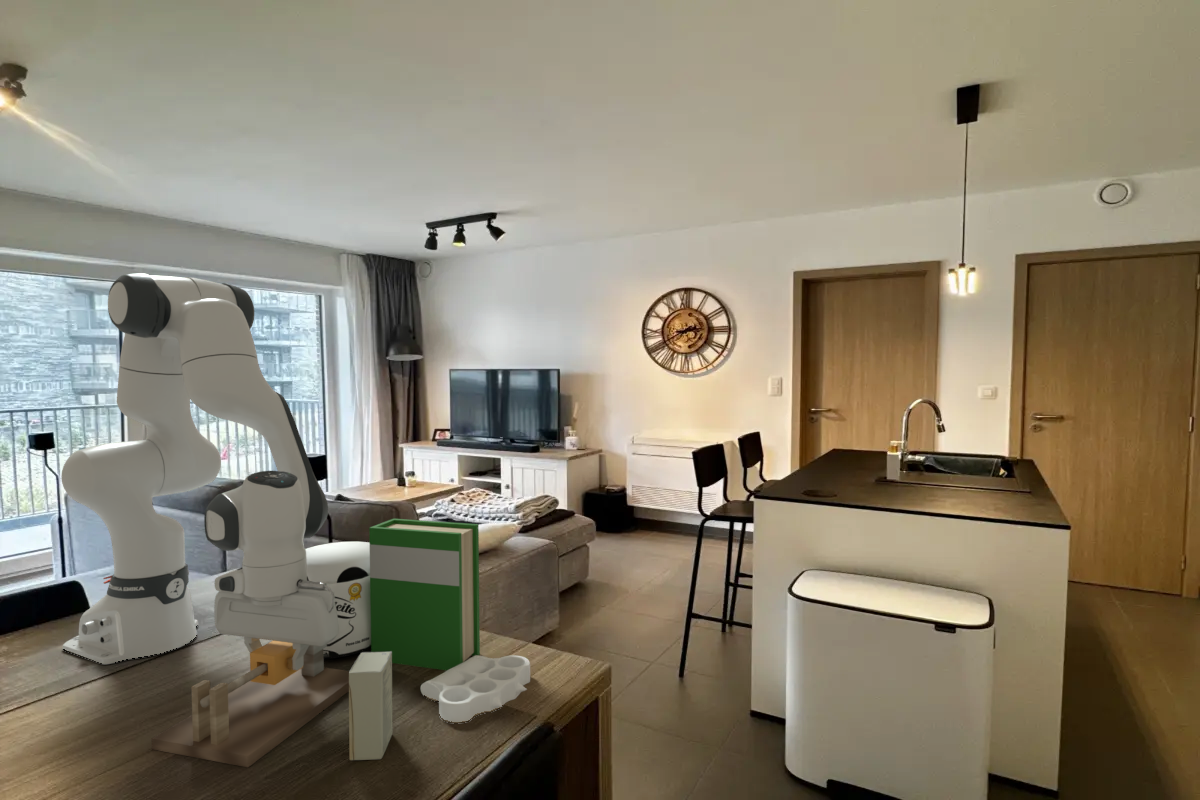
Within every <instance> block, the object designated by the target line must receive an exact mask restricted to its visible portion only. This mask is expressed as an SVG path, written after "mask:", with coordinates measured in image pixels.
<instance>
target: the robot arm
mask: <svg viewBox="0 0 1200 800" xmlns="http://www.w3.org/2000/svg"><path fill="white" fill-rule="evenodd" d="M253 302H254V301H253V300H252V298H251V296H250V295H249V293H248V292H247V291H246V290H245V289H244V288H241V287H239V286H236V285H233V284H230V283H227V282H226V283H225V282H222V283H219V282H215V281H211V280H206V279H203V278H202V279H201V278H198V277H197V278H196V277H192V276H191V277H190V276H185V277H180V276H171V275H169V276H168V275H149V274H148V273H128V274H123V275H121V276H119V277H118V278H117V279H116V280H115V281H114V282H113V283H112V284H111V286H110V289H109V291H108V296H107V312H108V316H109V318H110V321H111V323H112V324H113V325H114V326H115V327H116V328H117V329H118V331H120V332H121V333H124V337H123V341H122V345H121V352H120V358H119V366H118V367H119V368H118V378H117V380H118V381H117V393H116V405H117V407H118V409H119V411H120V412H121V413H122V414H123V415H124V416H126V418H128V419H130V420H133V421H135V422H137V423H138V424H142V425H145V426H144V427H145V429H146V437H145V439H142V440H141V439H140V440H127V441H119V442H106V443H101V444H97V445H93V446H89V447H86V448H82V449H79V450H75V451H74V452H73V453H71V454H70V455H69V456H68V458H67V459H66V460H65V462H64V464H63V466H62V471H61V484H62V487H63V489H64V491H65V493H67V495H68V496H69V497H70V498H71V499H72V500H74V501H75V502H76V503H79V504H81V505H82V506H84V507H87V508H88V509H90V510H92V512H94V513H95V514H96V515H98V517H99V518H100V519H101V520H102V521H103V523H104V524H105V526H106V528H107V530H108V533H109V537H110V540H111V547H112V548H111V549H112V554H113V556H112V557H113V559H112V560H113V570H114V571H113V572H114V573H113V574H111V575H107V576H106V577H103V580H105V581H104V582H103V583H102V584H108V586H107V590H106V594H105V595H104V596H103V597H102V598H101V599H100V600H98V601H97V602H95V604H93V605H92V606H91V607H90V608H89V609H87V610H85V612H83V614H82V615H81V617H80V619H79V623H78V624H79V625H78V635H76V636H74V637H72V638H71V639H69V640H67V641H65V642H64V643H63V644H62V649H65V650H67V651H71V652H74V653H76V654H79V655H81V656H84V657H87V658H89V659H92V660H94V661H96V662H95V663H97V662H99V663H98V664H100V663H102V664H101V665H110V664H115V662H116V663H119V662H118V661H120V662H122V660H124V661H127V660H126V659H128V660H133V659H132V658H135V659H139V658H138V657H142V658H145V657H144V656H148V657H151V656H150V655H153V656H155V655H154V654H157V655H160V653H161V654H164V652H165V653H167V652H166V651H168V652H171V651H174V650H177V649H179V648H182V647H184V646H185V644H186V645H187V644H190V643H191V642H192V641H193V639H194V638H195V637H196V638H197V636H198V631H197V628H196V626H197V625H198V626H199V620H198V619H196V618H195V614H194V608H193V601H192V595H191V594H192V593H191V589H190V588H189V587H188V584H189V581H190V580H189V579H190V578H189V575H190V571H189V567H188V564H187V563H186V549H185V548H186V547H185V545H186V544H185V543H186V542H185V541H186V540H185V539H186V538H185V530H184V527H183V526H182V524H181V523H180V522H179V521H178V520H177V519H176V518H173V517H170V516H167V515H164V514H161V513H157V511H156V510H155V508H154V505H153V498H155V497H162V496H167V495H174V494H175V495H176V494H180V493H186V492H190V491H193V490H197V489H199V488H202V487H204V486H207V485H209V484H212V483H213V482H214V481H215V479H216V478H217V477H218V475H219V473H220V470H221V467H222V466H221V465H222V460H221V459H222V458H221V454H220V452H219V449H218V448H217V447H216V445H215V444H214V443H213V442H211V440H209V439H207V438H206V437H205V436H203V435H202V433H201V432H200V431H199V430H198V428H197V427H196V425H195V422H194V420H193V417H192V412H191V402H192V403H193V404H194V405H195V406H196V407H197V408H199V409H200V410H202V411H203V412H205V413H207V414H209V415H210V416H211V415H212V416H213V417H216V418H218V419H222V420H226V421H229V422H233V423H237V424H240V425H243V426H245V427H248V428H251V429H252V430H254V431H256V432H257V433H258V434H260V435H261V436H262V437H263V438H264V440H265V441H266V442H267V444H268V447H269V450H270V453H271V455H272V459H273V461H274V464H275V467H276V470H262V471H257V472H253V473H251V474H249V475H248V476H246V477H245V479H244V480H243V483H242V484H241V485H240V486H238V487H236V488H233V489H231V490H228V491H225V492H222V493H219V494H216V496H214V497H213V498H212V499H211V501H210V502H209V504H208V505H207V507H206V508H205V511H204V520H203V523H204V533H205V537H206V540H207V541H208V542H210V543H211V544H212V545H213V546H215V547H216V548H218V549H219V550H221V551H226V552H227V551H228V552H229V551H230V552H231V551H234V552H235V551H242V552H243V558H242V562H241V565H242V566H241V567H239V568H237V569H234V570H232V571H228V572H226V573H223V574H222V575H220V576H217V577H216V578H214V589H215V591H217V593H216V595H215V597H214V604H213V605H214V607H213V610H214V611H213V612H214V613H213V617H214V619H213V620H214V626H215V629H216V630H217V632H218V633H219V634H220V635H227V636H234V637H235V636H236V637H243V638H244V639H243V640H244V641H243V642H244V645H245V646H246V648H247V650H248V652H249V654H250V653H251V652H253V651H255V650H256V649H258V648H260V647H262V646H263V645H262V642H261V640H265V641H281V642H289V643H293V649H296V651H295V653H294V655H293V656H292V657H290V658H288V659H287V663H288V669H291V670H299V669H300V668H302V667H303V665H304V657H303V655H304V654H305V653H306V651H307V649H308V647H309V645H312V646H323V645H325V644H327V643H329V642H330V641H332V640H333V639H334V638H335V637H336V636H337V634H338V632H339V625H338V616H337V610H336V604H335V596H334V591H333V590H332V589H331V588H330V587H329V586H327V585H326V583H324V582H313V581H307V557H306V550H305V549H306V547H305V544H304V540H305V539H310V538H313V537H314V536H315V535H316V534H317V533H318V532H319V531H320V529H321V528H322V526H323V525H324V523H325V522H326V520H327V518H328V514H329V505H328V499H327V497H326V495H325V493H324V490H323V489H322V487H321V485H320V483H319V481H318V480H317V478H316V476H315V473H314V471H313V468H312V465H311V463H310V460H309V457H308V454H307V452H306V449H305V446H304V443H303V440H302V436H301V434H300V432H299V429H298V426H297V424H296V421H295V419H294V418H295V417H294V415H293V414H292V411H291V409H290V407H289V404H288V402H287V400H286V399H285V397H284V396H283V395H282V394H281V393H279V392H277V391H275V390H274V389H273V388H272V387H271V385H270V384H269V383H268V381H267V380H266V378H265V377H264V375H263V373H262V371H261V368H260V365H259V364H260V363H259V360H258V353H257V350H256V345H255V342H254V341H255V340H254V338H253V335H252V332H251V331H252V330H251V328H252V327H253V324H254V320H255V305H254V303H253ZM107 579H108V580H107ZM325 588H326V589H325ZM198 626H197V627H198ZM196 635H197V636H196ZM196 638H195V639H196ZM195 639H194V640H195ZM191 640H192V641H191ZM190 641H191V642H190ZM176 648H177V649H176ZM173 649H174V650H173ZM170 650H171V651H170ZM89 659H88V660H89ZM92 660H91V661H92ZM94 661H93V662H94Z"/></svg>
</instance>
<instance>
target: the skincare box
mask: <svg viewBox="0 0 1200 800" xmlns="http://www.w3.org/2000/svg"><path fill="white" fill-rule="evenodd" d="M348 671H349V692H348V727H349V728H348V737H349V738H348V739H349V741H348V743H349V745H348V749H349V753H348V754H349V761H367V760H369V761H370V760H381V759H382V758H383V757H384V754H385V752H386V750H387V748H388V746H389V743H390V740H391V739H392V735H393V663H392V652H391V651H390V652H371V651H362V652H360V654H359V655H358V656H357V658H356V660H355V661H354V663H353V665H352V666H351V668H350V670H348Z"/></svg>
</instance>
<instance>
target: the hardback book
mask: <svg viewBox="0 0 1200 800" xmlns="http://www.w3.org/2000/svg"><path fill="white" fill-rule="evenodd" d="M368 530H369V531H368V533H369V536H368V537H369V543H370V600H371V651H370V652H390V651H391V652H392V664H397V665H405V666H411V667H419V668H426V669H433V670H439V671H440V670H442V671H447V670H449V669H451V668H453V667H455V666H457V665H459V664H461V663H463V662H465V661H467V660H468V659H469V658H470V657H471V656H472V657H473V656H475V655H478V656H480V655H481V647H480V645H481V642H480V633H481V632H480V631H481V630H480V626H481V625H480V555H479V553H480V550H479V547H480V546H479V539H480V538H479V537H480V536H479V524H477V523H466V522H465V523H463V522H451V521H435V520H421V519H420V520H419V519H405V518H404V519H403V518H391V519H388V520H386V521H383V522H381V523H378V524H376V525H373V526H369V528H368Z"/></svg>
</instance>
